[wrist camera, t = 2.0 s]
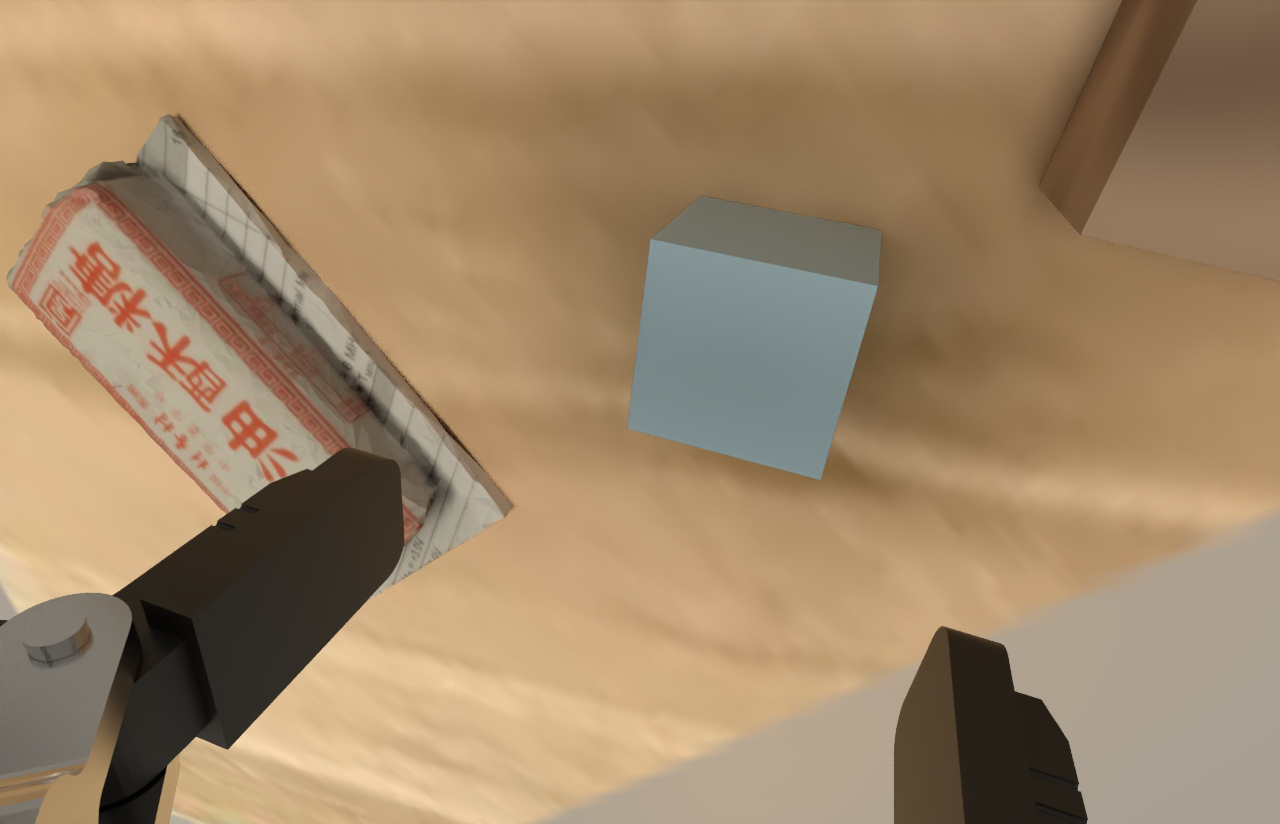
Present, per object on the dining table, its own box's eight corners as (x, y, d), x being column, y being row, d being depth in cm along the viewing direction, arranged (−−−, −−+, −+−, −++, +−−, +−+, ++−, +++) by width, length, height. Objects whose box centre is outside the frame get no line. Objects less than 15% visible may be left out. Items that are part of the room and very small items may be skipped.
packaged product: (-39, 307, 25) (50, 124, 20) (90, 269, 30) (190, 109, 24) (311, 661, 29) (460, 580, 24) (383, 584, 33) (523, 500, 28)
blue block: (702, 195, 20) (650, 239, 16) (882, 229, 19) (878, 286, 15) (677, 354, 23) (627, 428, 18) (835, 392, 22) (820, 480, 17)
